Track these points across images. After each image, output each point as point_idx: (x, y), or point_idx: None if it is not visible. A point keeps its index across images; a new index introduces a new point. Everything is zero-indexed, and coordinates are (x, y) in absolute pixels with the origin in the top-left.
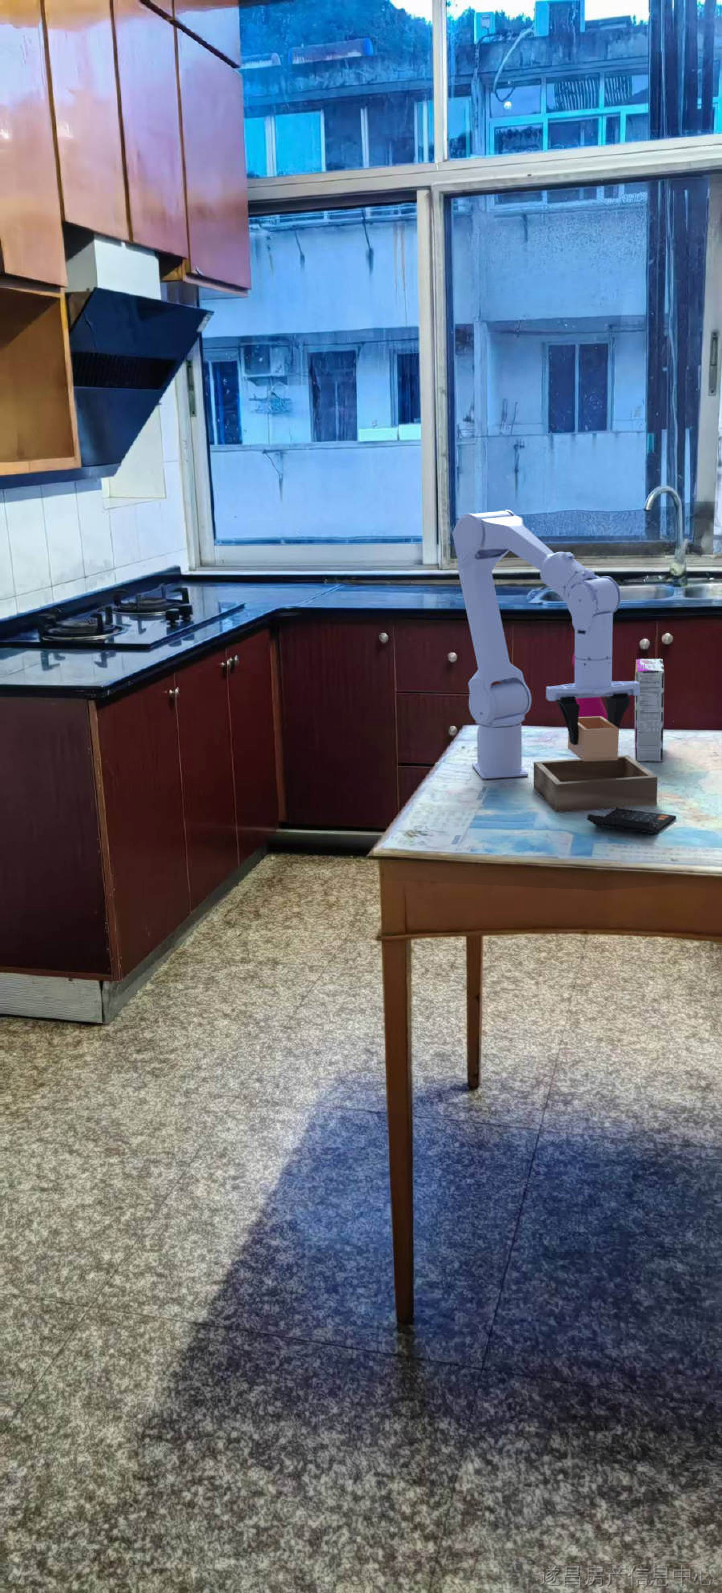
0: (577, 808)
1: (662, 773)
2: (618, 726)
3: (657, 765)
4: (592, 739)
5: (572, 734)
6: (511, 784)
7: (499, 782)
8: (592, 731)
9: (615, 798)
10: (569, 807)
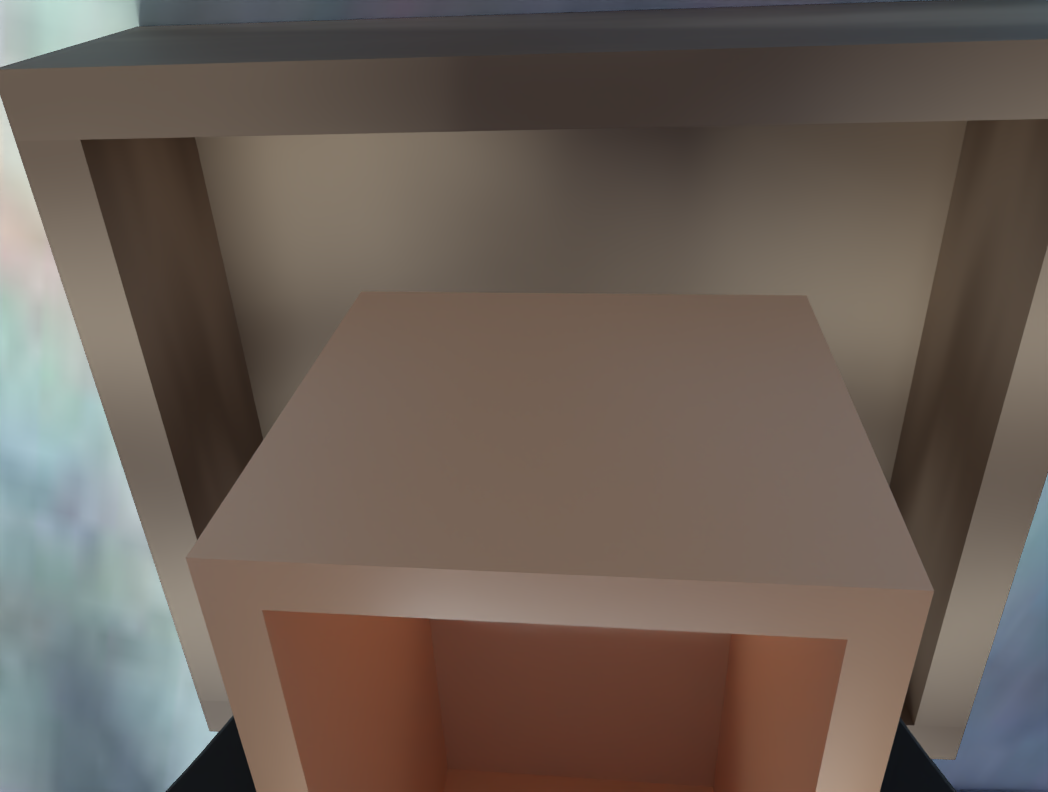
0: (839, 7)
1: (59, 670)
2: (187, 769)
3: (80, 781)
4: (726, 455)
5: (914, 748)
6: (981, 699)
7: (1029, 743)
8: (747, 557)
9: (480, 27)
10: (920, 6)
